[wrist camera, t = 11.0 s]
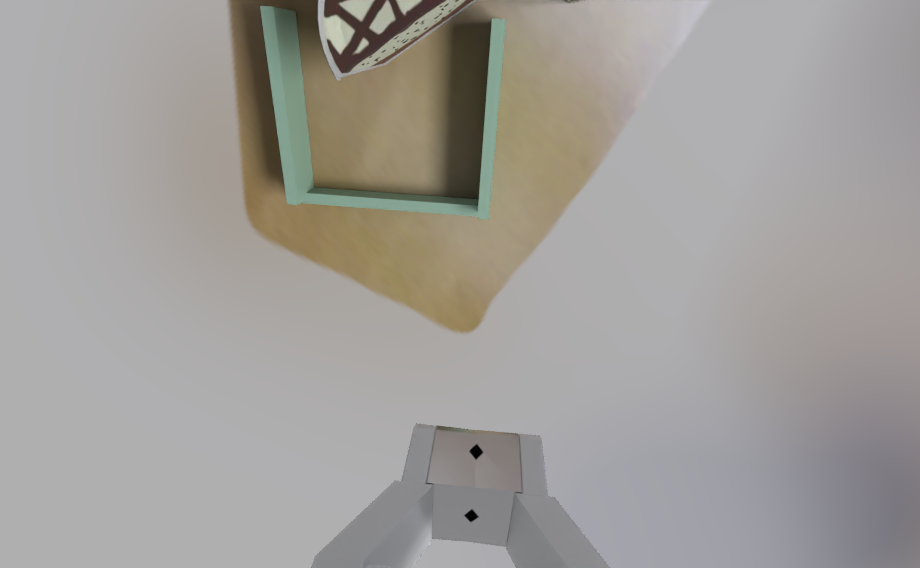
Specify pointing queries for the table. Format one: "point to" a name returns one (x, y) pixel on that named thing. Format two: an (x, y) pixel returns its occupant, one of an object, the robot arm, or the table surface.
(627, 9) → the table surface
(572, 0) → the coffee box
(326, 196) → the u-shaped frame
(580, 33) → the table surface
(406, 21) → the food container
